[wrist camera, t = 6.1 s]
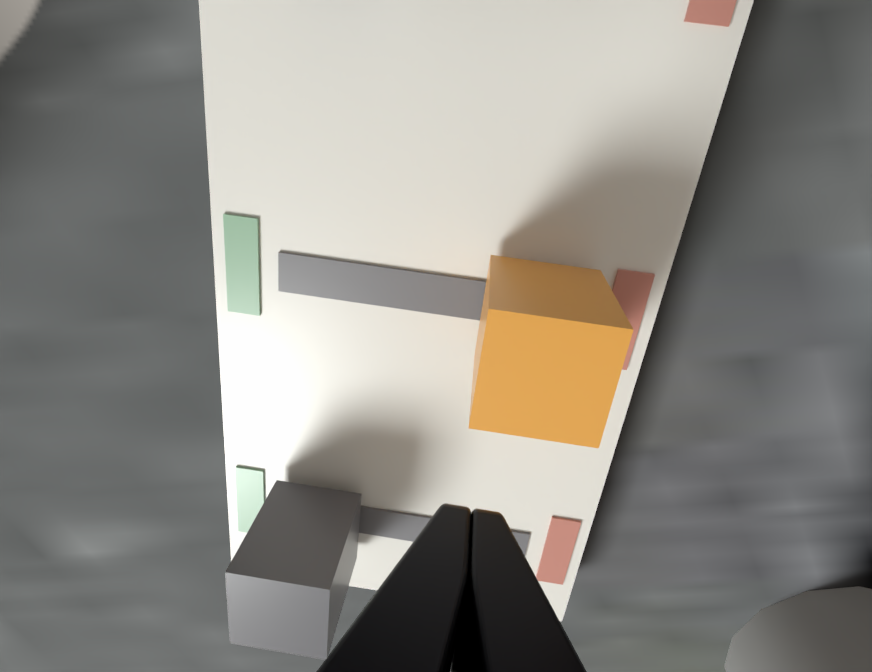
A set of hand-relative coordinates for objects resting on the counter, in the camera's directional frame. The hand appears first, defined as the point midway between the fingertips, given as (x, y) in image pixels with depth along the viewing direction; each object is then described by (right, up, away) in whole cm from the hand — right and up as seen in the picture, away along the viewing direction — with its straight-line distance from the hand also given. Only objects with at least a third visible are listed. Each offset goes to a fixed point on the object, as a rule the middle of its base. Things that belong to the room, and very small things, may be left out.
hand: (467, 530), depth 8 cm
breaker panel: (0, +5, +10) cm, 11 cm away
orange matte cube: (+2, +3, +8) cm, 9 cm away
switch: (-5, -4, +12) cm, 13 cm away
